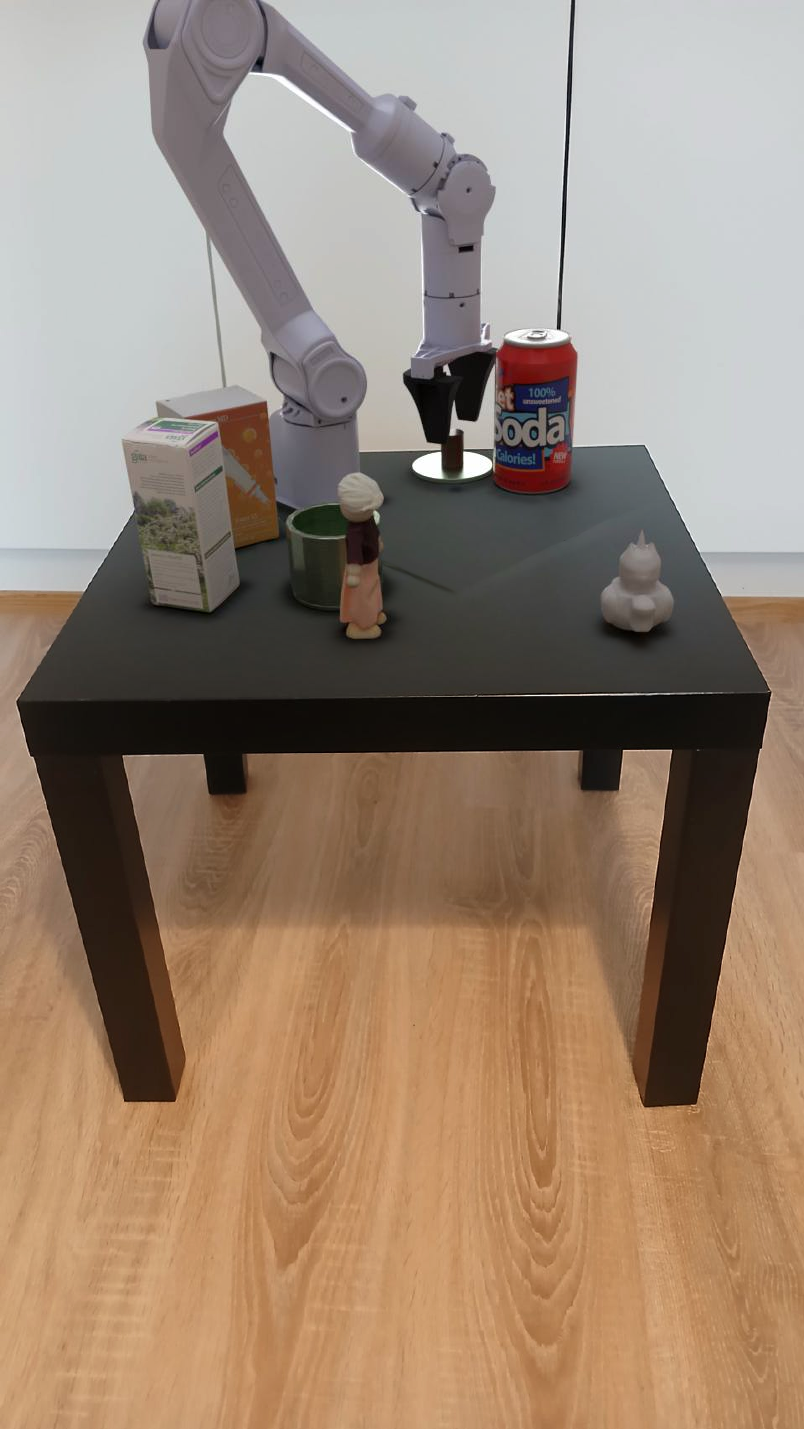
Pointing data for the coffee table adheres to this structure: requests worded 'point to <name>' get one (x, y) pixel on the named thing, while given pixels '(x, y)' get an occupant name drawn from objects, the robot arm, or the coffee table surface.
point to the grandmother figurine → (361, 557)
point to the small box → (238, 455)
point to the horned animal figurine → (637, 591)
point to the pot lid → (452, 463)
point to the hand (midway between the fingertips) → (452, 431)
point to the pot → (320, 554)
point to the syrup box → (182, 512)
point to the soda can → (534, 410)
